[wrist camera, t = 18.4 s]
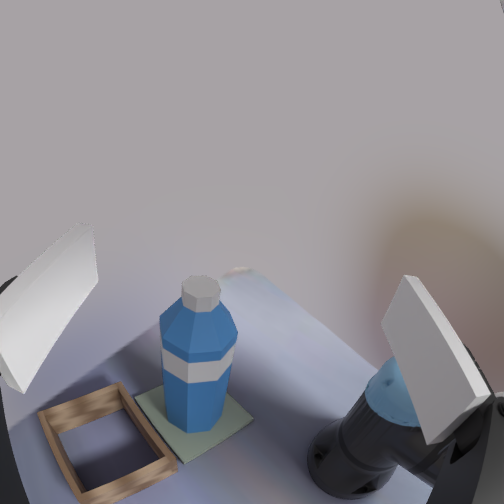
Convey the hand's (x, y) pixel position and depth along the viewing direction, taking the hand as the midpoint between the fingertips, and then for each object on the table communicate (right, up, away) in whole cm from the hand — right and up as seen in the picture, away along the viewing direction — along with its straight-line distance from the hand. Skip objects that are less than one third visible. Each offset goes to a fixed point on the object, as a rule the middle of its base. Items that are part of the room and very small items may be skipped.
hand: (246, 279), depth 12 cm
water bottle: (-9, -24, +31) cm, 40 cm away
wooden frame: (-21, -29, +21) cm, 41 cm away
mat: (-9, -25, +31) cm, 41 cm away
